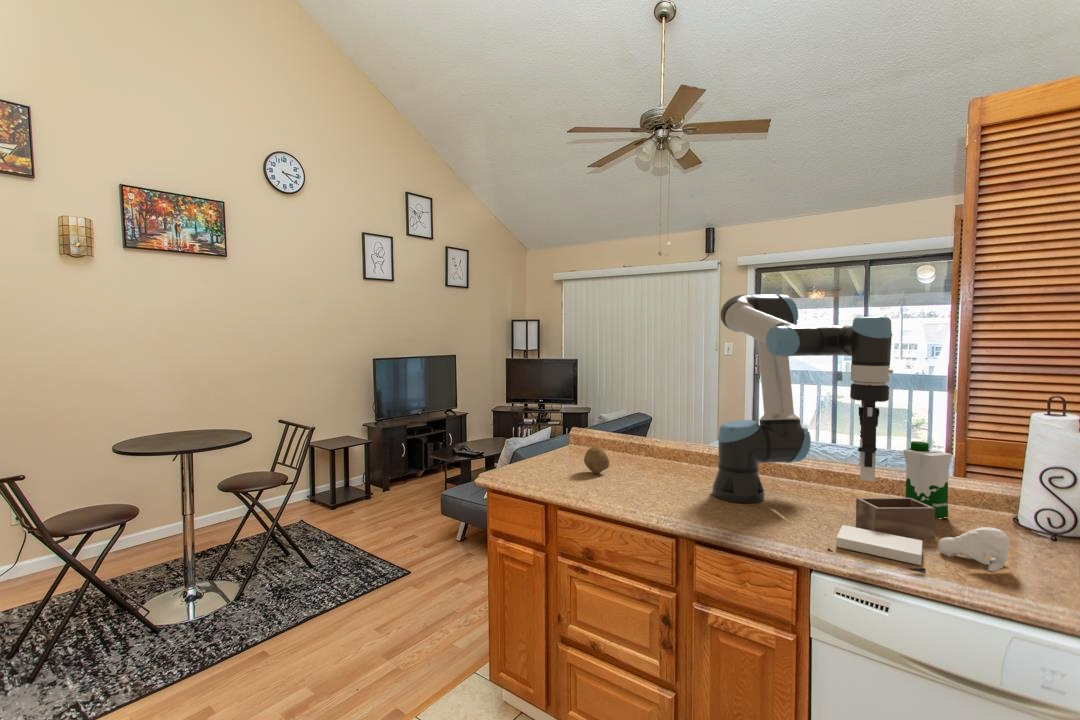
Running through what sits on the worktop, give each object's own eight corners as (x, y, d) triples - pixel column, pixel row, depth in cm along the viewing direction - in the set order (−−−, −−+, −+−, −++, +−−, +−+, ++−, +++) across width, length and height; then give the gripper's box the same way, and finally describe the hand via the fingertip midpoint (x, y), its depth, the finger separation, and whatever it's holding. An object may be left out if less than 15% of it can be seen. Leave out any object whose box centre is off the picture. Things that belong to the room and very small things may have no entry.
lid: (842, 536, 122) (842, 524, 122) (922, 553, 112) (922, 540, 112) (836, 549, 115) (836, 537, 114) (921, 569, 105) (921, 555, 105)
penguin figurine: (1008, 535, 101) (934, 525, 110) (1013, 576, 101) (938, 564, 109) (1008, 526, 106) (937, 518, 114) (1012, 566, 106) (941, 555, 114)
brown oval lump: (579, 471, 185) (579, 445, 184) (599, 468, 189) (599, 443, 188) (591, 477, 177) (591, 450, 176) (612, 474, 180) (612, 447, 180)
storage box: (855, 528, 128) (856, 498, 128) (910, 528, 128) (910, 497, 128) (876, 540, 120) (877, 508, 120) (934, 540, 120) (935, 508, 120)
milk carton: (921, 508, 142) (922, 440, 142) (955, 519, 134) (957, 446, 133) (897, 511, 140) (899, 442, 139) (930, 523, 131) (932, 448, 130)
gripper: (893, 390, 102) (889, 490, 104) (886, 379, 123) (882, 462, 125) (850, 387, 106) (847, 484, 108) (850, 377, 127) (847, 458, 129)
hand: (866, 472), depth 116 cm, fingers open, 13 cm apart
